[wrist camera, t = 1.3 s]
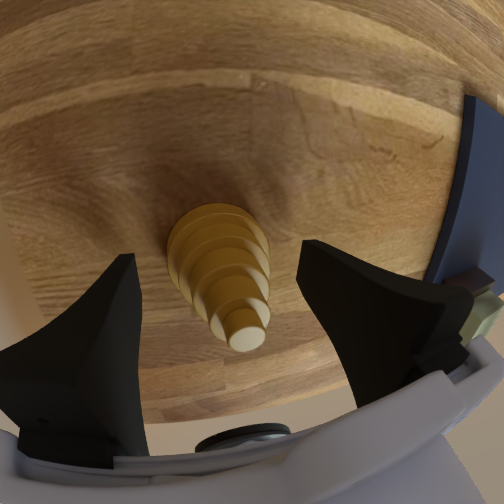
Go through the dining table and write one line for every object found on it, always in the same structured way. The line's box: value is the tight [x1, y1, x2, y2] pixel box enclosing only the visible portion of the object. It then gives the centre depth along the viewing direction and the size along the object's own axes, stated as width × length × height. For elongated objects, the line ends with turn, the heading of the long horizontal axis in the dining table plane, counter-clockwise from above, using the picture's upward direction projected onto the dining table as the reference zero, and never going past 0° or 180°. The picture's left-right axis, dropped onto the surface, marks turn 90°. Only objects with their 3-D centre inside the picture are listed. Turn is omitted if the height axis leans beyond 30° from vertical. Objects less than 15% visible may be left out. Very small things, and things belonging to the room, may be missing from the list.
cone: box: [167, 203, 271, 352], centre depth 10 cm, size 4×4×6 cm
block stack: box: [441, 267, 504, 347], centre depth 19 cm, size 7×7×5 cm
